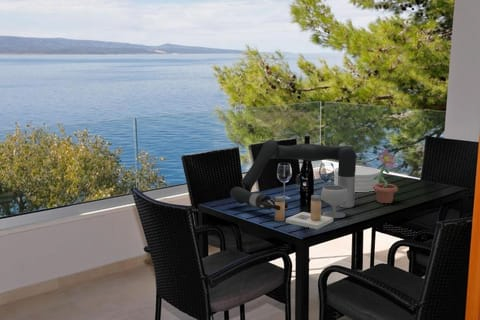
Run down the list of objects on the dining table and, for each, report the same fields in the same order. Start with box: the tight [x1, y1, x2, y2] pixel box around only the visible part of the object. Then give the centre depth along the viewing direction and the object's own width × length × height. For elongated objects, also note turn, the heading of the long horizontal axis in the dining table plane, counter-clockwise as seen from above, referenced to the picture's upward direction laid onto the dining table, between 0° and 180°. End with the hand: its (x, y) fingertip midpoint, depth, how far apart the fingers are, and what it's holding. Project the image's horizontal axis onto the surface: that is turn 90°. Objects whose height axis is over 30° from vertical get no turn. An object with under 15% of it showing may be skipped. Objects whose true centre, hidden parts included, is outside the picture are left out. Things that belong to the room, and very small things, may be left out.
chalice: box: [320, 184, 348, 219], centre depth 277 cm, size 14×14×15 cm
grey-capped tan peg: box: [274, 195, 286, 222], centre depth 270 cm, size 5×5×12 cm
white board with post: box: [285, 194, 334, 230], centre depth 266 cm, size 16×18×14 cm
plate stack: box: [333, 165, 380, 192], centre depth 340 cm, size 28×28×12 cm
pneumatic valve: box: [295, 173, 316, 186], centre depth 329 cm, size 6×12×12 cm, turn 123°
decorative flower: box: [373, 149, 399, 205], centre depth 302 cm, size 15×14×30 cm
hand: (283, 207), depth 268 cm, fingers closed on grey-capped tan peg, 5 cm apart
